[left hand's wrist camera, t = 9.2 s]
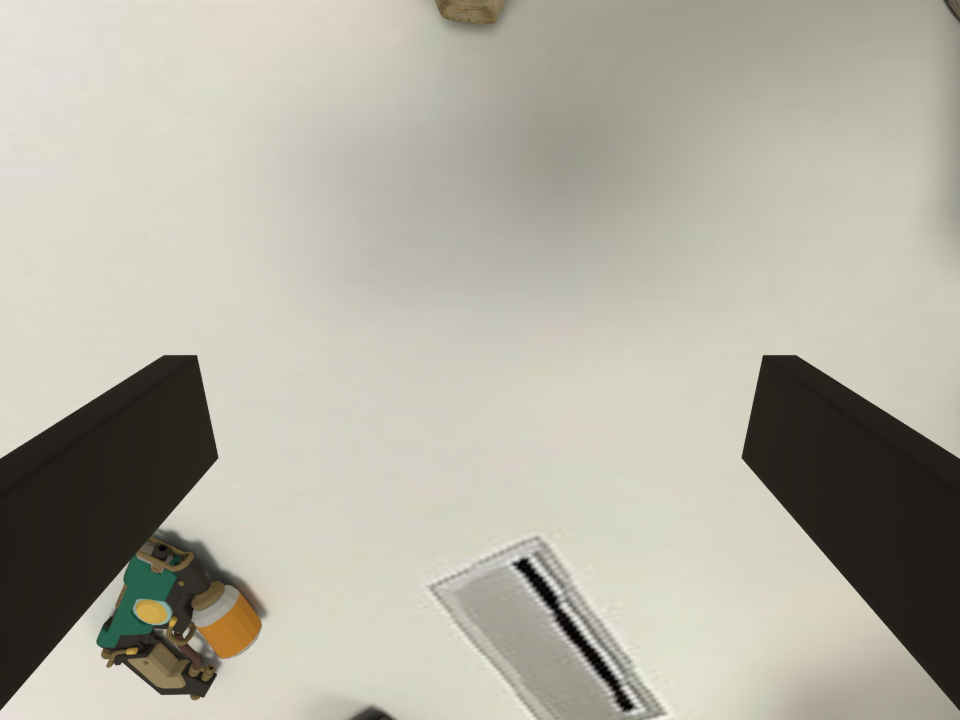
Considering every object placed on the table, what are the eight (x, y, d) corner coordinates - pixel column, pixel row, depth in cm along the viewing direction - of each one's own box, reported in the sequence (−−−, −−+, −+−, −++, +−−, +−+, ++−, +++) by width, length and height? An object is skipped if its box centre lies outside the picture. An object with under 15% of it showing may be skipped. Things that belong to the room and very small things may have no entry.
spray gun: (198, 686, 55) (74, 602, 51) (297, 612, 50) (166, 513, 46) (173, 728, 51) (37, 641, 47) (278, 652, 46) (133, 547, 42)
